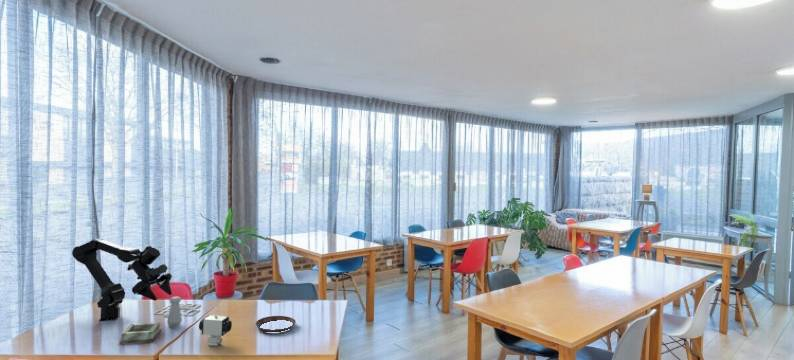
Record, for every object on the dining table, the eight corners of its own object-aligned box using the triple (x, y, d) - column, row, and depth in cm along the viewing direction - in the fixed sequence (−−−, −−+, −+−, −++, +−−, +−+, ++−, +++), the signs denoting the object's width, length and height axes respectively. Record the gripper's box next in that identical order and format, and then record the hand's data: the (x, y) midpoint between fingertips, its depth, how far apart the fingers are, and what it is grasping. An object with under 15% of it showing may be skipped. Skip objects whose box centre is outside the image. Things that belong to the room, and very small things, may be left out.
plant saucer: (302, 329, 187) (303, 322, 187) (267, 339, 174) (268, 332, 174) (282, 319, 199) (282, 313, 199) (248, 327, 186) (248, 321, 186)
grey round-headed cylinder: (170, 323, 186) (171, 295, 186) (183, 323, 187) (184, 295, 187) (164, 328, 180) (165, 298, 180) (177, 328, 181) (179, 299, 181)
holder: (119, 344, 161) (119, 334, 161) (129, 333, 173) (129, 323, 173) (153, 341, 165) (153, 332, 165) (160, 331, 176) (161, 322, 177)
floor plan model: (199, 320, 193) (199, 316, 193) (148, 317, 194) (149, 313, 194) (218, 308, 212) (218, 304, 212) (172, 305, 213) (172, 301, 213)
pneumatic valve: (225, 347, 163) (227, 318, 163) (197, 345, 163) (198, 316, 163) (232, 342, 168) (233, 313, 168) (204, 340, 169) (206, 311, 169)
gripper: (138, 263, 176) (160, 291, 174) (169, 256, 195) (189, 280, 193) (122, 280, 177) (143, 307, 176) (154, 271, 196) (173, 295, 194)
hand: (163, 297), depth 184 cm, fingers open, 9 cm apart
